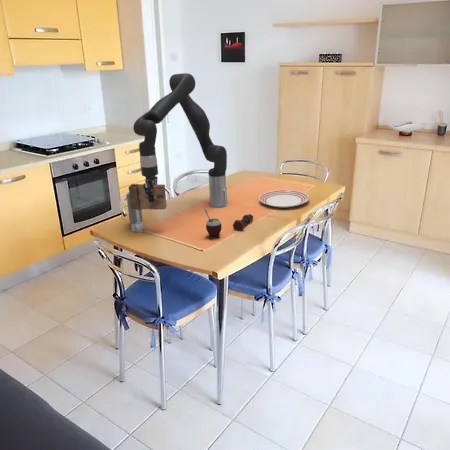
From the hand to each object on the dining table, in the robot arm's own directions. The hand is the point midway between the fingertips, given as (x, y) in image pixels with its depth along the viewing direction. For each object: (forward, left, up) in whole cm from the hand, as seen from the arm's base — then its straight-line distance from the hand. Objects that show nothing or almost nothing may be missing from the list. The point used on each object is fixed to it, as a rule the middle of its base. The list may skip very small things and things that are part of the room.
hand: (152, 200), depth 201 cm
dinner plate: (-60, -46, -16) cm, 77 cm away
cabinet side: (+10, -5, -15) cm, 19 cm away
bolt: (-42, -10, -16) cm, 46 cm away
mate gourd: (-29, +5, -16) cm, 33 cm away
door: (+2, 0, -4) cm, 4 cm away
